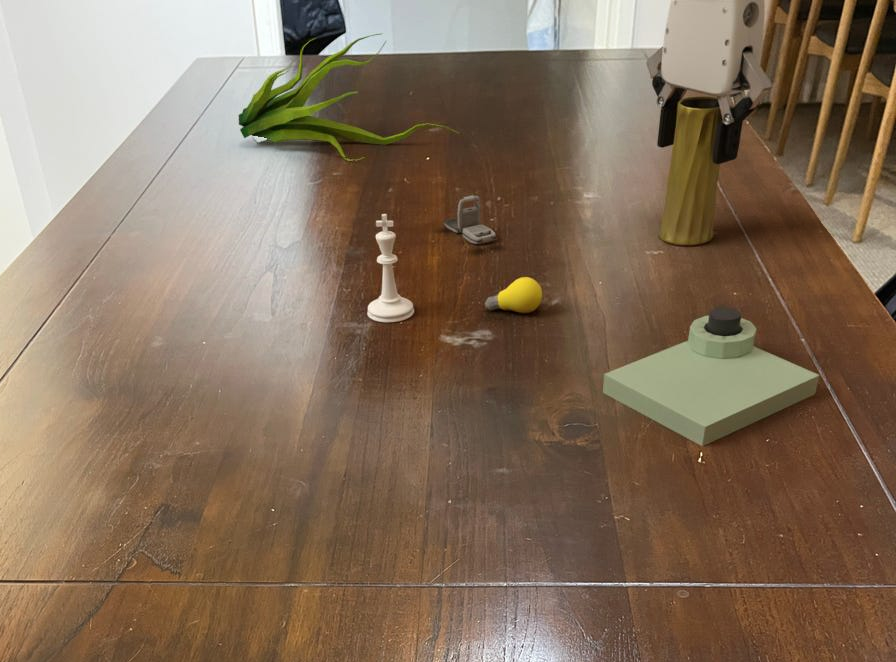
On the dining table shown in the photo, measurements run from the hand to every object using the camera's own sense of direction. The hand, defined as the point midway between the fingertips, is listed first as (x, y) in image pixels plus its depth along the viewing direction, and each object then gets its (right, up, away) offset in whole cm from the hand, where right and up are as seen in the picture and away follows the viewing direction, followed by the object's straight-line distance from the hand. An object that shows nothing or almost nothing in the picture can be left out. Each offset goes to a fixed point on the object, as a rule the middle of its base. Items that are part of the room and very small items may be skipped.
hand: (696, 151), depth 111 cm
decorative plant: (-42, +20, +40) cm, 62 cm away
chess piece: (-34, -20, -6) cm, 39 cm away
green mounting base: (-5, -32, -22) cm, 39 cm away
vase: (+1, -7, +6) cm, 9 cm away
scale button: (-3, -26, -20) cm, 33 cm away
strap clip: (-24, -5, +11) cm, 27 cm away
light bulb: (-21, -20, -7) cm, 30 cm away
